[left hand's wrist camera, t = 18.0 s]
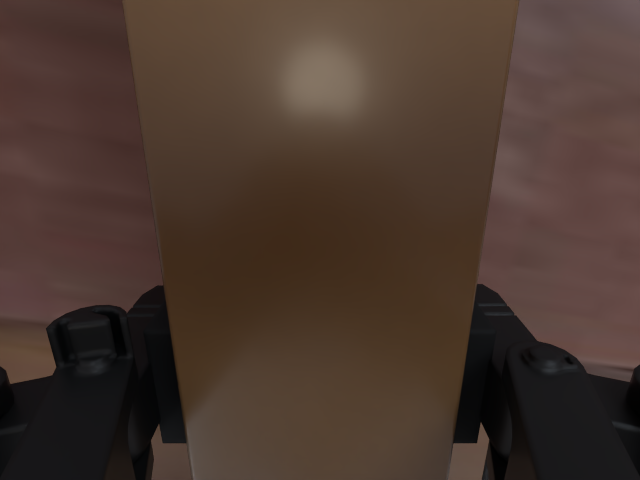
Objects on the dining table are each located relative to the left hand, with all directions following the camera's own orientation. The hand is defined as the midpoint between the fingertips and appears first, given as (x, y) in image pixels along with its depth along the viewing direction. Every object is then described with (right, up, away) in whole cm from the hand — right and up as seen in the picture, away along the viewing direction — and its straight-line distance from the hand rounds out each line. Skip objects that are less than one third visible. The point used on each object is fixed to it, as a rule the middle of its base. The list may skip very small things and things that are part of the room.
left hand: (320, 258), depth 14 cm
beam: (0, +19, -6) cm, 20 cm away
